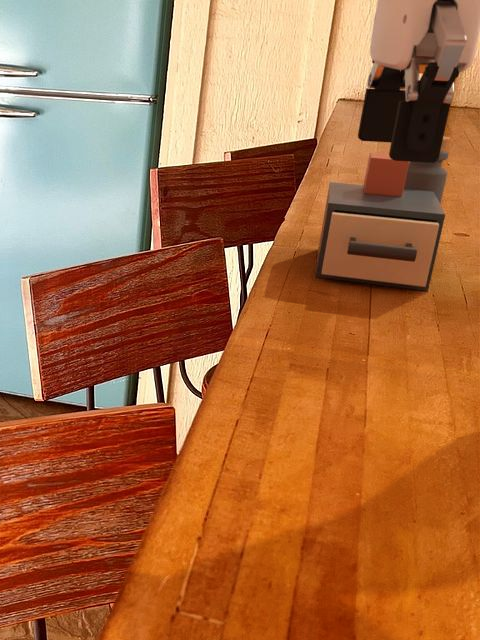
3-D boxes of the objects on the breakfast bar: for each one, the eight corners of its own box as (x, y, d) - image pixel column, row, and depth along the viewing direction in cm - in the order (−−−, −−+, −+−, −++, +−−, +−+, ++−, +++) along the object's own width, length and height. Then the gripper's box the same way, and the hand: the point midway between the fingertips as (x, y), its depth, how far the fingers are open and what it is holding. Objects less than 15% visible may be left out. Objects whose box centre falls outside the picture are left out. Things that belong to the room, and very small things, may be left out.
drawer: (429, 299, 97) (443, 234, 95) (320, 285, 101) (331, 222, 98) (416, 258, 114) (429, 202, 111) (323, 248, 117) (333, 193, 114)
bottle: (434, 245, 124) (458, 136, 118) (426, 254, 120) (451, 140, 114) (390, 238, 127) (412, 131, 121) (381, 246, 123) (403, 136, 117)
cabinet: (428, 291, 103) (445, 214, 100) (315, 277, 107) (328, 202, 104) (418, 260, 116) (433, 191, 113) (318, 249, 120) (329, 182, 117)
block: (402, 196, 109) (409, 160, 107) (363, 193, 110) (370, 157, 108) (399, 190, 113) (407, 155, 111) (363, 187, 114) (369, 152, 112)
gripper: (558, -121, 52) (488, 173, 58) (460, -91, 68) (413, 137, 74) (424, -123, 53) (369, 167, 59) (358, -94, 69) (321, 132, 75)
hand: (394, 150), depth 67 cm, fingers open, 9 cm apart
